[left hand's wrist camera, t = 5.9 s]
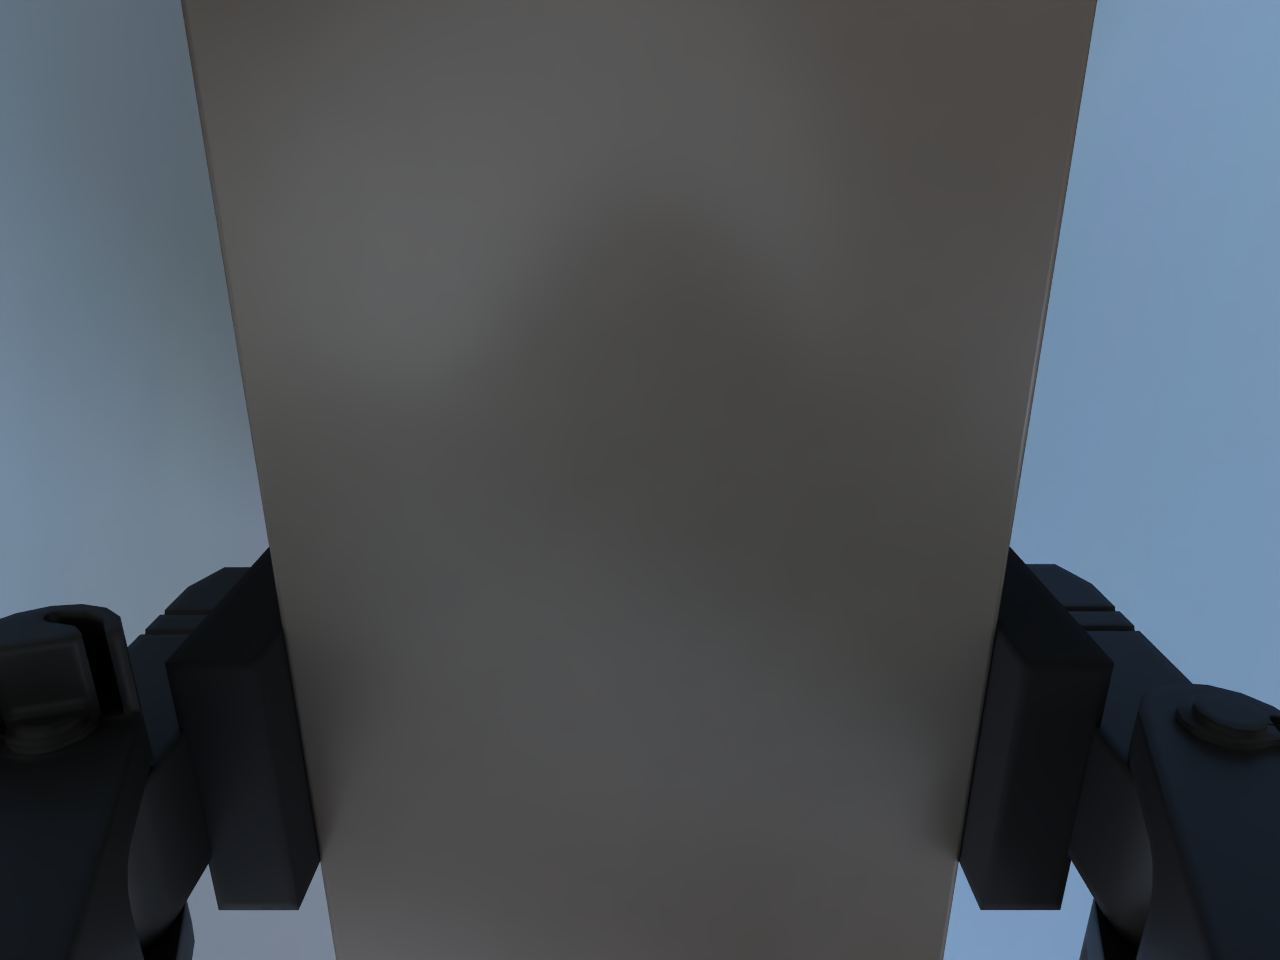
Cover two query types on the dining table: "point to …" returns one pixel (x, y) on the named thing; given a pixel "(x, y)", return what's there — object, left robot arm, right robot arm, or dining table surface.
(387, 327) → the grey rectangular box
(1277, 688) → the dining table surface
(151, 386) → the dining table surface
